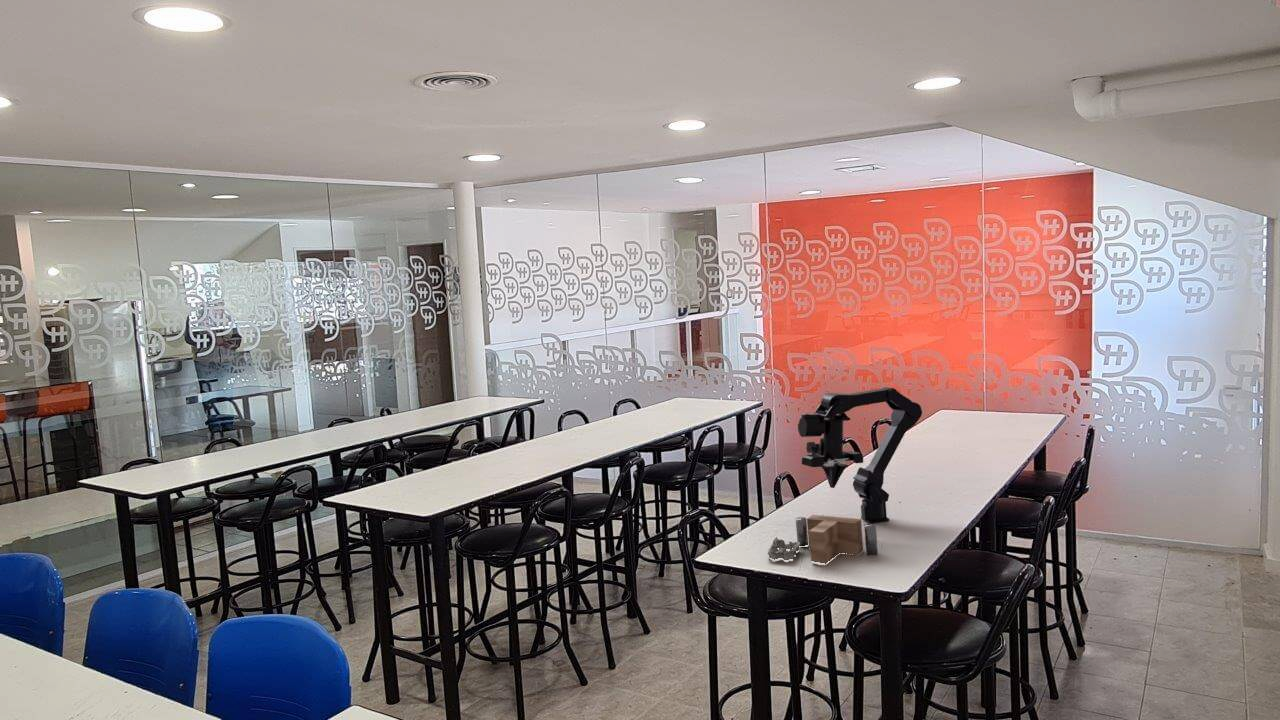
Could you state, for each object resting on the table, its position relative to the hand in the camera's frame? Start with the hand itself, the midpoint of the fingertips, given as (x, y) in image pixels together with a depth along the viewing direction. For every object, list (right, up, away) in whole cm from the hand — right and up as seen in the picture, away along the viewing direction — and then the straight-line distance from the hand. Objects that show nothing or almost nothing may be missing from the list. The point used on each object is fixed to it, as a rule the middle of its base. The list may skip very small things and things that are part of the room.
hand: (832, 487), depth 254 cm
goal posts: (-3, -14, -20) cm, 25 cm away
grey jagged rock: (-18, -16, -20) cm, 31 cm away
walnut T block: (-6, -15, -24) cm, 29 cm away
